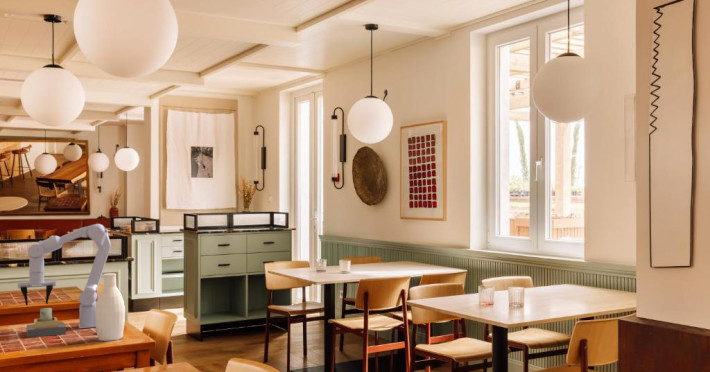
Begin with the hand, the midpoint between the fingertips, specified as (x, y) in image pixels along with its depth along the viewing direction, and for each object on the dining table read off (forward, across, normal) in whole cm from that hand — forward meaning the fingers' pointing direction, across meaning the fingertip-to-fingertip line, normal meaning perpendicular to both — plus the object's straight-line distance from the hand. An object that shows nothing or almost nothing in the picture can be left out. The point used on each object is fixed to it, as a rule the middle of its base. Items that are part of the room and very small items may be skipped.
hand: (36, 304), depth 288 cm
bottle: (+11, -25, +36) cm, 45 cm away
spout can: (+7, -3, +12) cm, 15 cm away
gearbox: (+10, -3, +12) cm, 16 cm away
